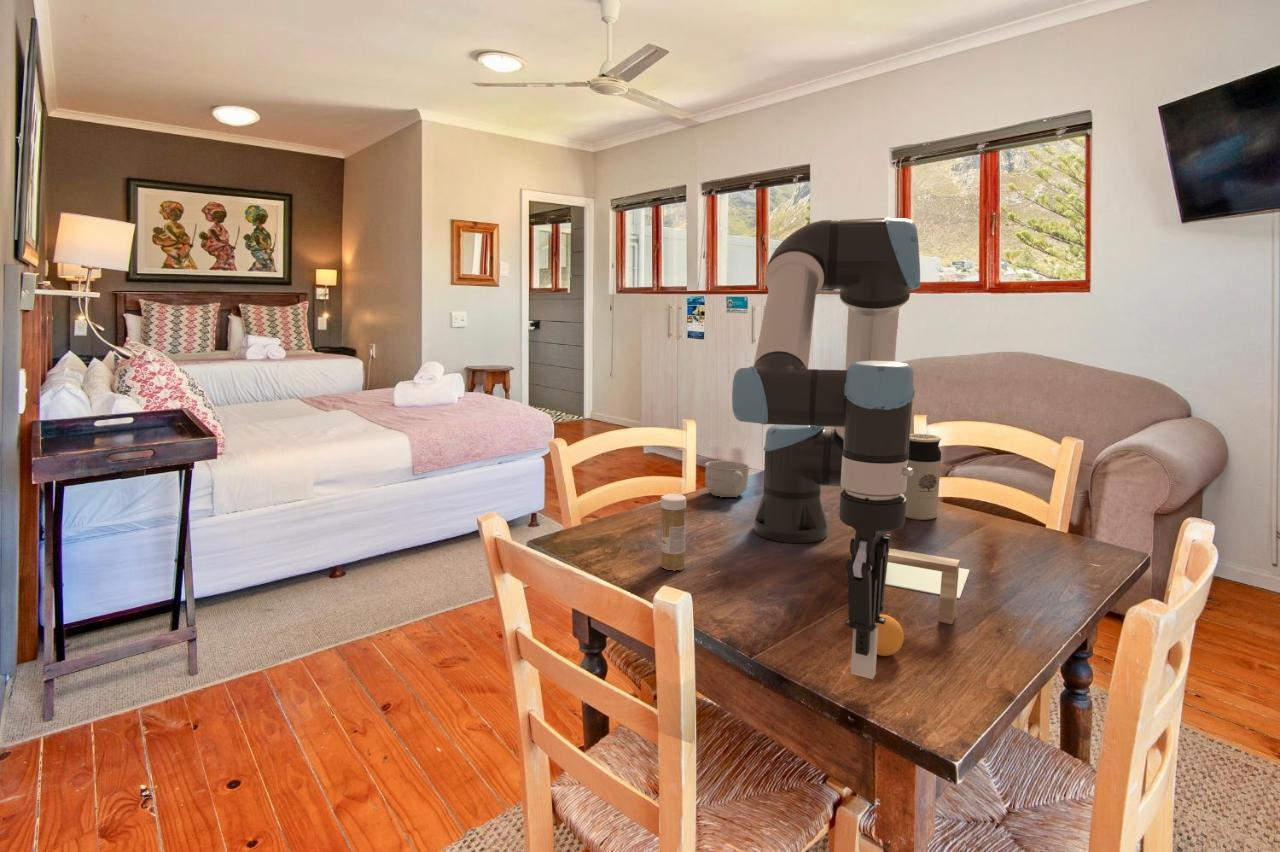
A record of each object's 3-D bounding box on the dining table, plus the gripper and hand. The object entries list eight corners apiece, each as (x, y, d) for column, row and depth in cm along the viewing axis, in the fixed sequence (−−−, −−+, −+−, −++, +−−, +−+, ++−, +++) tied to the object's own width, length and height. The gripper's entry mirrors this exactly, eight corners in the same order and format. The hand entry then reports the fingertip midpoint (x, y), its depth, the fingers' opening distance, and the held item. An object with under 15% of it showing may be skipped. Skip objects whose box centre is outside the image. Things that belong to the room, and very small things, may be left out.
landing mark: (871, 582, 125) (871, 581, 125) (889, 556, 137) (889, 555, 137) (959, 598, 118) (959, 597, 118) (969, 570, 130) (969, 569, 130)
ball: (856, 657, 99) (858, 619, 98) (866, 640, 104) (868, 604, 103) (898, 667, 97) (900, 628, 96) (906, 649, 101) (908, 613, 100)
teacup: (701, 490, 184) (701, 459, 183) (743, 488, 185) (744, 458, 184) (711, 505, 171) (711, 472, 169) (756, 504, 171) (757, 471, 170)
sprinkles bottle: (658, 564, 134) (658, 493, 131) (682, 562, 135) (682, 492, 132) (663, 573, 129) (663, 500, 127) (688, 571, 130) (688, 499, 128)
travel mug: (895, 509, 167) (900, 432, 164) (931, 510, 166) (937, 433, 162) (902, 520, 159) (908, 439, 156) (940, 521, 158) (946, 440, 155)
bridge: (952, 624, 109) (956, 566, 107) (855, 604, 116) (857, 549, 115) (955, 616, 112) (959, 560, 110) (859, 597, 119) (862, 544, 117)
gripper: (894, 510, 79) (882, 707, 83) (916, 483, 90) (904, 658, 94) (826, 500, 83) (818, 690, 87) (855, 476, 94) (846, 645, 98)
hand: (863, 673), depth 91 cm, fingers closed
